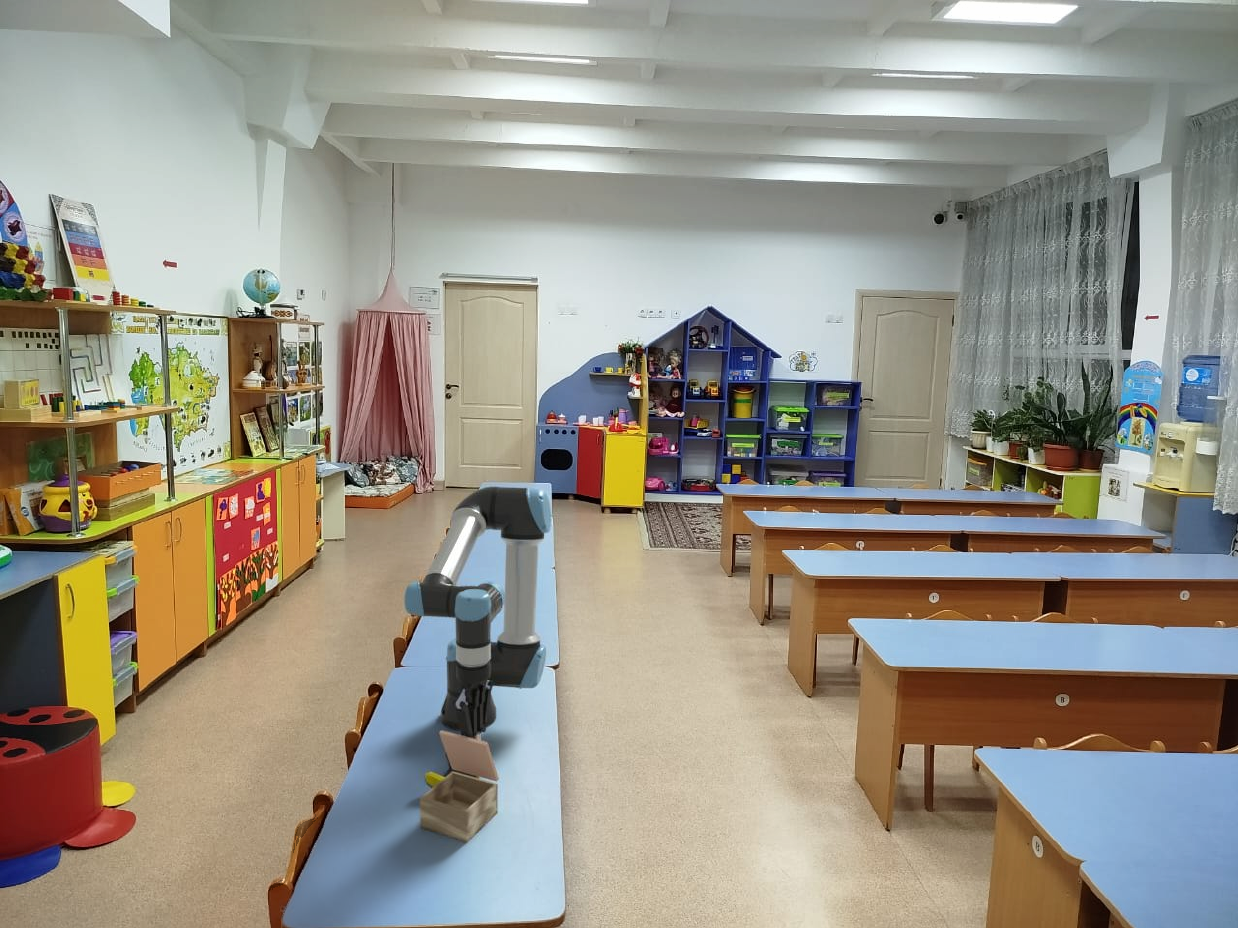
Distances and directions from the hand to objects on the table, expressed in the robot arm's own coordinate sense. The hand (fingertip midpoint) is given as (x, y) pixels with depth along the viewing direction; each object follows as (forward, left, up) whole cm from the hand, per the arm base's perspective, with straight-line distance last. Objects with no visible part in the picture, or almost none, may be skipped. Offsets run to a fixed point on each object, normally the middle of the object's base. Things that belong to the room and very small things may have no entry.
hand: (474, 759), depth 186 cm
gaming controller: (-6, -10, -12) cm, 17 cm away
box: (+6, 0, -11) cm, 13 cm away
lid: (+2, 0, +2) cm, 3 cm away
